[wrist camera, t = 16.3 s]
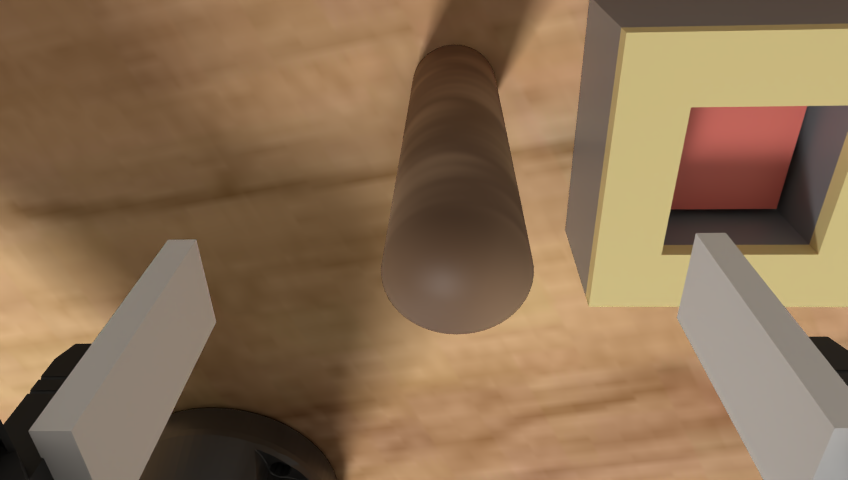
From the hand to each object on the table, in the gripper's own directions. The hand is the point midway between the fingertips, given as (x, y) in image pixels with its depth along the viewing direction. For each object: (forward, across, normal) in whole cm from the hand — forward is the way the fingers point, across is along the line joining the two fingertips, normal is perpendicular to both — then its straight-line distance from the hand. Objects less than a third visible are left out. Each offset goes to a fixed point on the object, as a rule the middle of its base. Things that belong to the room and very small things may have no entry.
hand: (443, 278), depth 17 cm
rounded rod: (+16, +1, 0) cm, 16 cm away
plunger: (+14, +13, -2) cm, 19 cm away
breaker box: (+16, +16, -2) cm, 22 cm away
